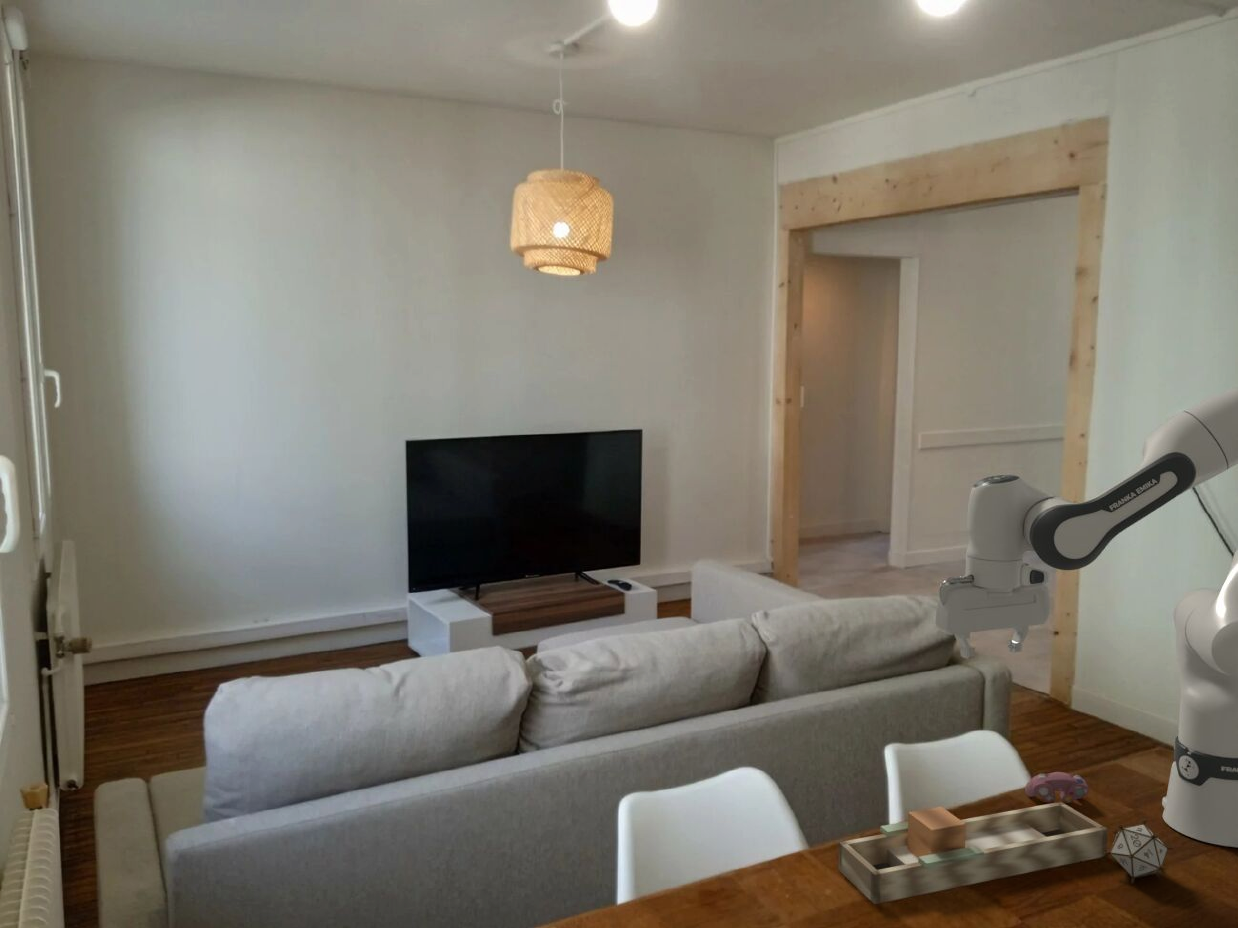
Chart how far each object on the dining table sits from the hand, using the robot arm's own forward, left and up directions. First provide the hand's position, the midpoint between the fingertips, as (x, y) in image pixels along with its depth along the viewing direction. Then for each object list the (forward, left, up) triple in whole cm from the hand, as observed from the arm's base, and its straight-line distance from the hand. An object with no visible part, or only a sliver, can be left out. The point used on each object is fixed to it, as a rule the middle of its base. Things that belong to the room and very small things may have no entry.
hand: (991, 654), depth 162 cm
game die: (-10, +22, -29) cm, 38 cm away
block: (+18, +11, -27) cm, 34 cm away
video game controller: (-17, -2, -29) cm, 34 cm away
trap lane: (+11, +11, -29) cm, 33 cm away
